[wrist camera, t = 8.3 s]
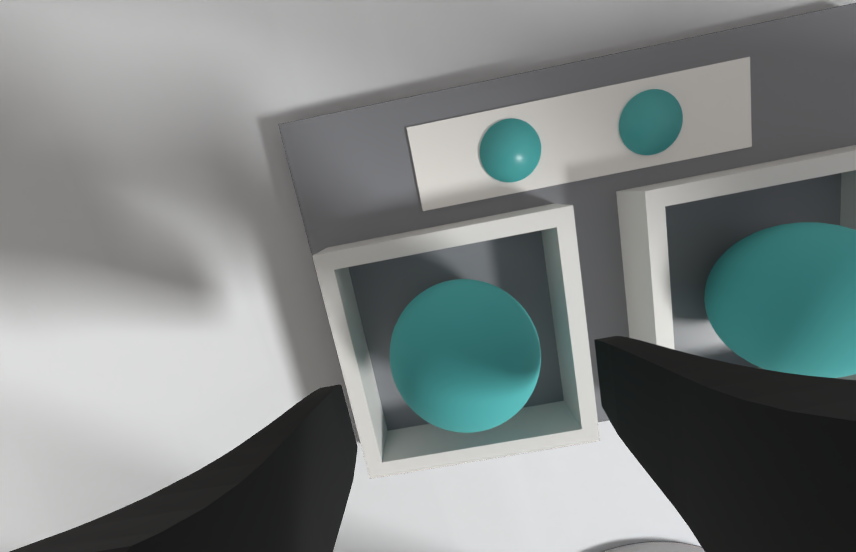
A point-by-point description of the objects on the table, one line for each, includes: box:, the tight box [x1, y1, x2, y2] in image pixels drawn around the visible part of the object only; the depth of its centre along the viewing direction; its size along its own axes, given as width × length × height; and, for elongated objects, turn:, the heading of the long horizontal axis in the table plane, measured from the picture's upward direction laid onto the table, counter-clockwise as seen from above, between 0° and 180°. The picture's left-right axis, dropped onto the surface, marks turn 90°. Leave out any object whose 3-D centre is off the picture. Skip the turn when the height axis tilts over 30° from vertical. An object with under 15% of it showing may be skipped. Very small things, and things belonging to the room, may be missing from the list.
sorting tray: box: [279, 3, 856, 479], centre depth 15 cm, size 21×14×3 cm, turn 101°
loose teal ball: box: [389, 279, 541, 433], centre depth 13 cm, size 5×5×5 cm
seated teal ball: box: [704, 222, 856, 378], centre depth 13 cm, size 5×5×5 cm
